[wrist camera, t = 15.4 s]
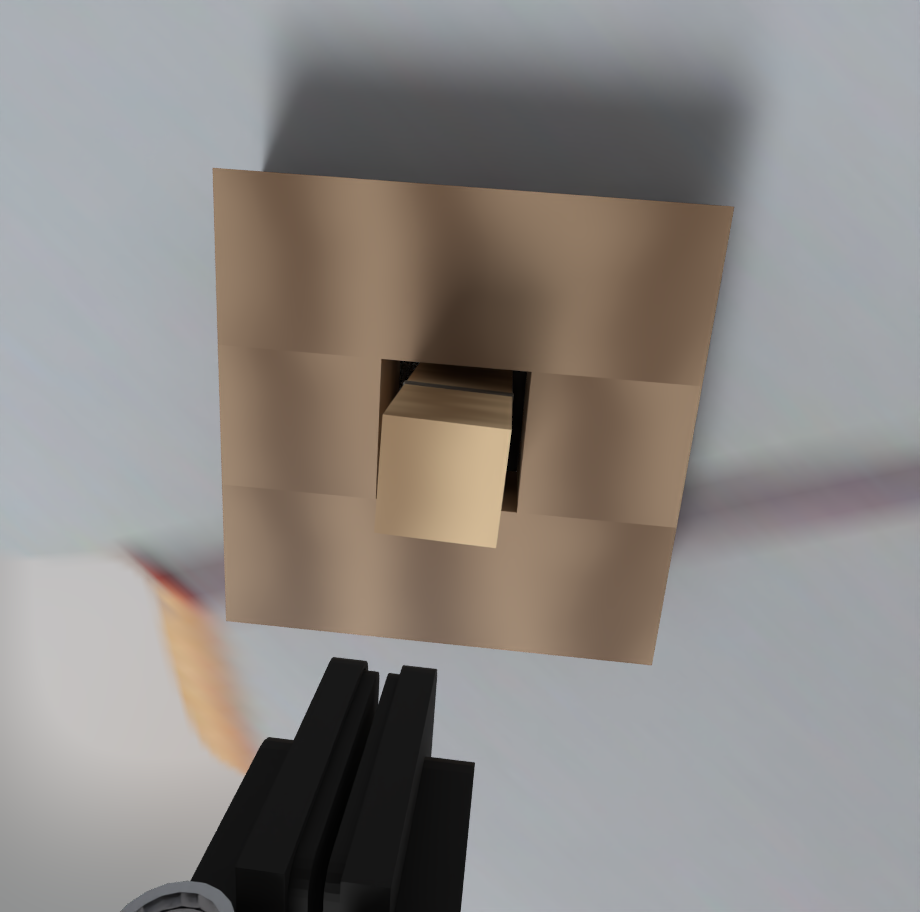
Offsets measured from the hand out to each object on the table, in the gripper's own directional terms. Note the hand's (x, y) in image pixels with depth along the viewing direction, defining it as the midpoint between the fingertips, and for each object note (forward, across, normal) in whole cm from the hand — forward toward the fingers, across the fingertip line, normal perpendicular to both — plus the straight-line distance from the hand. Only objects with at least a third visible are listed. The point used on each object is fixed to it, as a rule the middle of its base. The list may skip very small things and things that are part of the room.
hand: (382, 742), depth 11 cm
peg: (+22, +1, 0) cm, 22 cm away
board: (+22, +1, 0) cm, 22 cm away
